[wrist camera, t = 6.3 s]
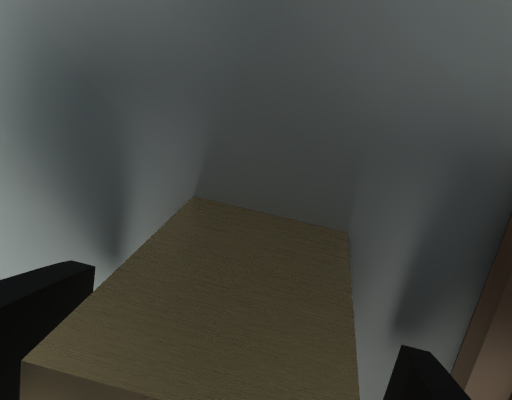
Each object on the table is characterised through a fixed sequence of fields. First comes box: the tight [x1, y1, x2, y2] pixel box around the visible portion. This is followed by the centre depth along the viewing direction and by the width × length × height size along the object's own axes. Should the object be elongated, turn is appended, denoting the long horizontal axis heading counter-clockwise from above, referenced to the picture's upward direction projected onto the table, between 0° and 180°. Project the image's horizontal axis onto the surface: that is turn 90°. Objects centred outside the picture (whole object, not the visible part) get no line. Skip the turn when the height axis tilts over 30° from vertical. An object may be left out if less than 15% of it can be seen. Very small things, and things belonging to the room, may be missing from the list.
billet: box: [20, 197, 360, 400], centre depth 9 cm, size 5×4×7 cm
